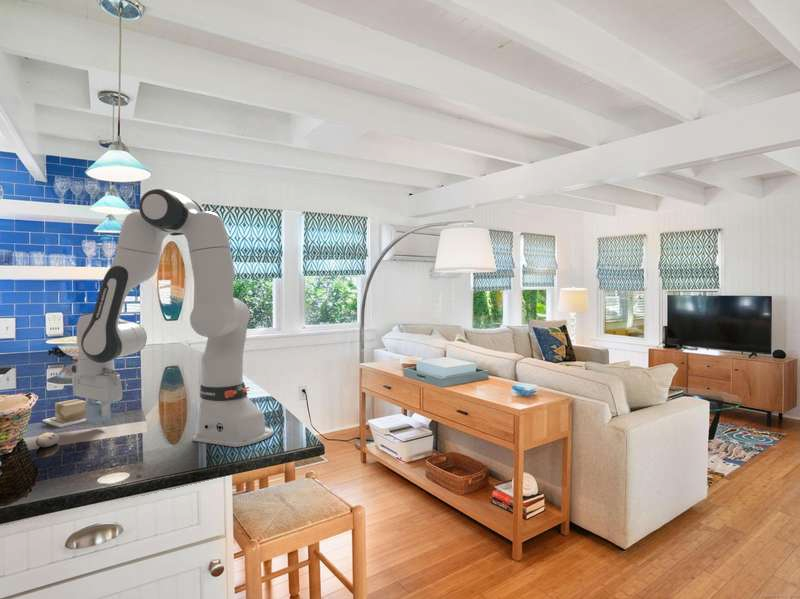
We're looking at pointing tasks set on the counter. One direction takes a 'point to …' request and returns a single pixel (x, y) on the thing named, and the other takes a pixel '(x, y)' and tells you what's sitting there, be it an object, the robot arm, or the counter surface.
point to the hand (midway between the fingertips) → (98, 414)
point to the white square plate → (61, 423)
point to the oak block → (70, 410)
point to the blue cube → (96, 412)
